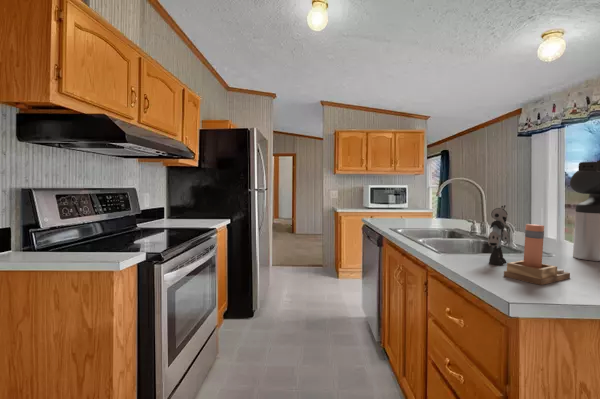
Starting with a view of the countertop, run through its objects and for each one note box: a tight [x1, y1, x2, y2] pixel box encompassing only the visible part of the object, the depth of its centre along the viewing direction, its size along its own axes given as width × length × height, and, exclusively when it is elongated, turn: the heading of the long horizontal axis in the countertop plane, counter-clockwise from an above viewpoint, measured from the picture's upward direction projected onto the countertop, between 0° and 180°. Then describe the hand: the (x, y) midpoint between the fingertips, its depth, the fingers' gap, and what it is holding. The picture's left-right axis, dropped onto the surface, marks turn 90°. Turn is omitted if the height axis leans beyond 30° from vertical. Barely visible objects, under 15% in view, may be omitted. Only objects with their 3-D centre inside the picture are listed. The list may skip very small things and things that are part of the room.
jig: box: [503, 259, 571, 286], centre depth 102 cm, size 16×10×4 cm, turn 119°
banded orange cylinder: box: [523, 223, 545, 269], centre depth 100 cm, size 4×4×14 cm
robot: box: [487, 205, 510, 267], centre depth 119 cm, size 20×5×20 cm, turn 139°
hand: (587, 167), depth 90 cm, fingers open, 8 cm apart
